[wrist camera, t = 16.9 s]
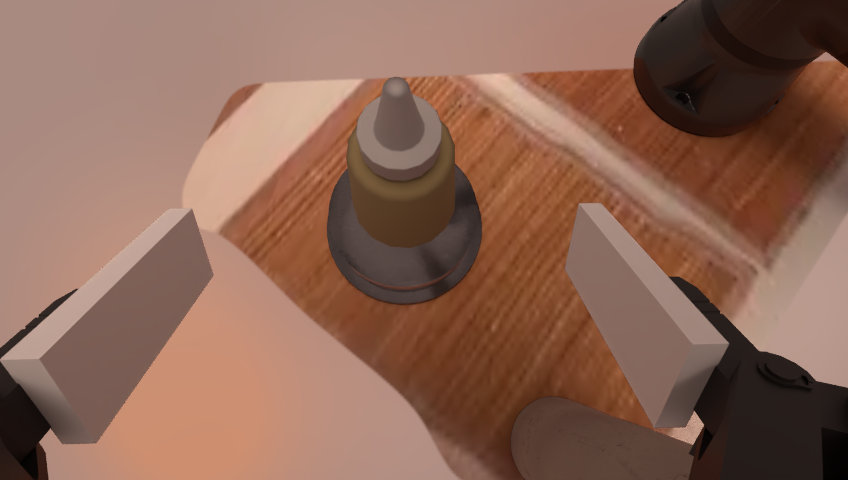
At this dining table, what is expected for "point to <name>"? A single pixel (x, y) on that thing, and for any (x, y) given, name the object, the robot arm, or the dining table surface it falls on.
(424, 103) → the squeeze bottle
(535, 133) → the dining table surface
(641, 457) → the thermos bottle
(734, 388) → the robot arm
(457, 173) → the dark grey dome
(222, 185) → the dining table surface
